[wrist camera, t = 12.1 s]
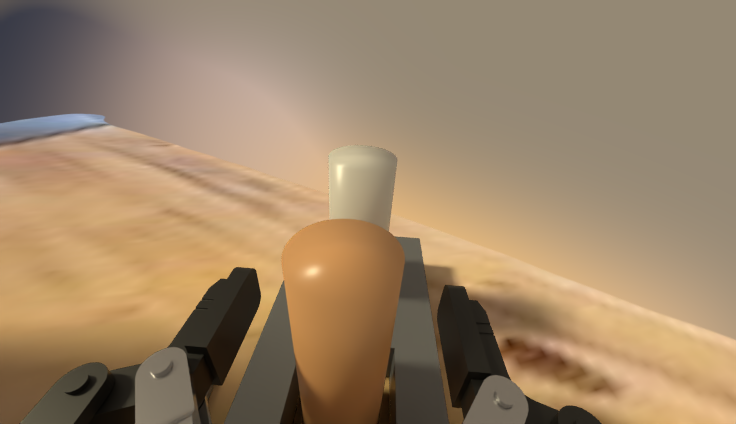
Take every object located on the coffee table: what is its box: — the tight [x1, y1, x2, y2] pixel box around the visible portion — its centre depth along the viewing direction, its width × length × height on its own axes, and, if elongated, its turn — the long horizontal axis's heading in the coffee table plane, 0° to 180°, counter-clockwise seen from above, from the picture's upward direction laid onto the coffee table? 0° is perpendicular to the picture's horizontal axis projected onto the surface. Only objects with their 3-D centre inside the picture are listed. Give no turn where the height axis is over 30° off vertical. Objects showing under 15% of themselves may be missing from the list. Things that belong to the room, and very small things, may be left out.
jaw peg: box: [282, 219, 405, 424], centre depth 12 cm, size 4×4×12 cm
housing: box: [224, 145, 449, 424], centre depth 16 cm, size 10×18×12 cm, turn 177°
